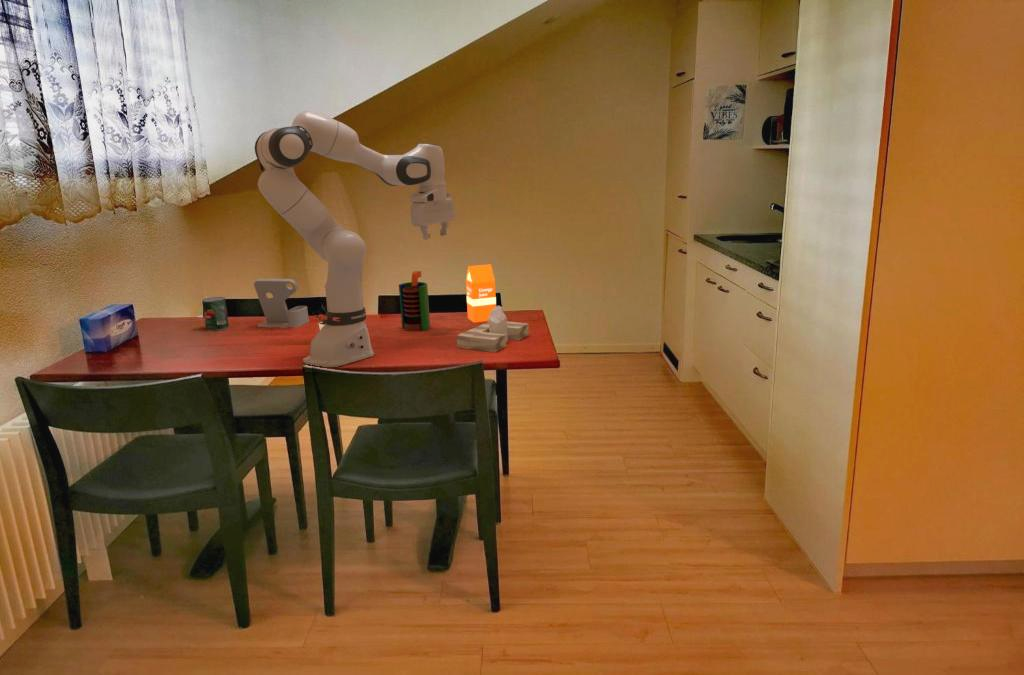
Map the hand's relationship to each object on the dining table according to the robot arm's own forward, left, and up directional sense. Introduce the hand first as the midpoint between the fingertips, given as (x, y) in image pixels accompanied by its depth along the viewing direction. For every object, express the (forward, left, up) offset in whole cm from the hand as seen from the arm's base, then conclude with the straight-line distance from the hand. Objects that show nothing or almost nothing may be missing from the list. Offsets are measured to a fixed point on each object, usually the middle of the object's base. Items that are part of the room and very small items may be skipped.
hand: (435, 237), depth 240 cm
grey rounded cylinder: (0, -23, -33) cm, 40 cm away
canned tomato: (-24, +83, -33) cm, 93 cm away
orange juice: (+25, -1, -33) cm, 42 cm away
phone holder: (-10, +64, -33) cm, 72 cm away
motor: (+5, +14, -33) cm, 37 cm away
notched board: (0, -21, -33) cm, 39 cm away
